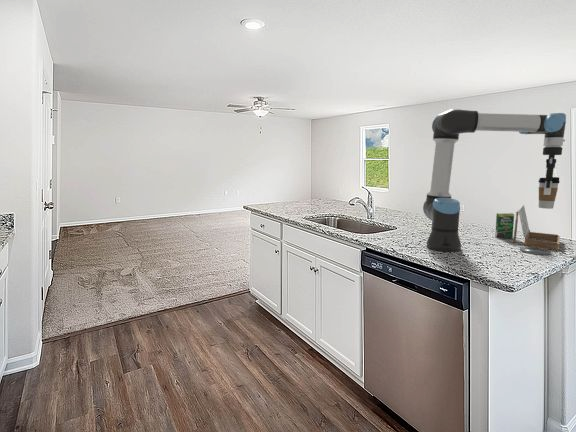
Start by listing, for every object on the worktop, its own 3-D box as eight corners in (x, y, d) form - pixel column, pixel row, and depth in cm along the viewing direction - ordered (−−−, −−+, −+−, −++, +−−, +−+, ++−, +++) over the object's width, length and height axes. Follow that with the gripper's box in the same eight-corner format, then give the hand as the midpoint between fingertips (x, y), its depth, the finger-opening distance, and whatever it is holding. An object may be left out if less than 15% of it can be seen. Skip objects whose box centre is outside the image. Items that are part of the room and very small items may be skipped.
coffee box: (496, 237, 197) (498, 213, 195) (494, 236, 200) (496, 212, 198) (512, 238, 196) (515, 214, 193) (510, 237, 198) (513, 213, 196)
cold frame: (558, 250, 171) (563, 212, 168) (512, 244, 182) (515, 209, 179) (559, 241, 188) (563, 207, 185) (516, 236, 199) (519, 204, 196)
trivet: (542, 256, 161) (542, 254, 161) (514, 250, 171) (514, 249, 171) (556, 252, 167) (556, 251, 167) (528, 247, 177) (528, 245, 177)
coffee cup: (559, 209, 176) (563, 177, 173) (540, 208, 177) (543, 177, 175) (551, 207, 184) (554, 176, 181) (532, 206, 185) (535, 176, 183)
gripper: (562, 146, 165) (556, 196, 169) (562, 147, 182) (557, 192, 186) (542, 146, 170) (536, 195, 173) (544, 147, 186) (539, 191, 190)
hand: (547, 193), depth 180 cm, fingers closed on coffee cup, 8 cm apart
